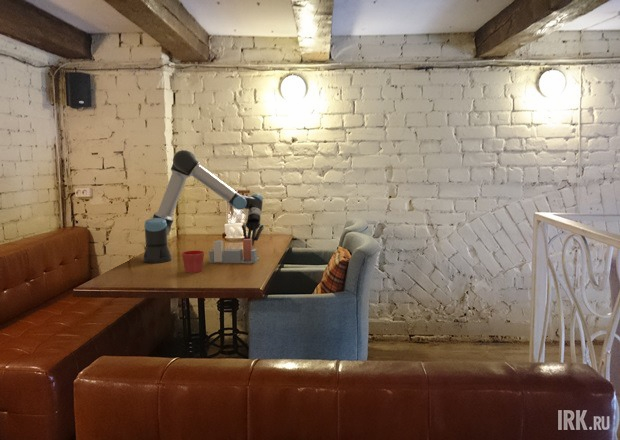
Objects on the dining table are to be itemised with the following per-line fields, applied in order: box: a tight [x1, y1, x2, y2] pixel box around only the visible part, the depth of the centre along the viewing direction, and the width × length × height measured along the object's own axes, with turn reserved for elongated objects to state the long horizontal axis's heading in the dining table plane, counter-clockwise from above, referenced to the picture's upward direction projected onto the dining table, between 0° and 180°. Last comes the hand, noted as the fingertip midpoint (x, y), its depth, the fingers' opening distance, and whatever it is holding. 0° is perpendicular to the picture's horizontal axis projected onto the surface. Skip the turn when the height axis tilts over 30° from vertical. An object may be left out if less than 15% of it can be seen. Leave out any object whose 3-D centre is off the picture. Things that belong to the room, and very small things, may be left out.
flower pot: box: [181, 250, 205, 274], centre depth 253 cm, size 11×11×10 cm
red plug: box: [242, 238, 253, 260], centre depth 278 cm, size 4×4×11 cm
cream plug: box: [212, 240, 224, 262], centre depth 274 cm, size 4×4×11 cm
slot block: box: [208, 248, 260, 264], centre depth 279 cm, size 25×12×7 cm, turn 85°
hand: (249, 249), depth 281 cm, fingers closed
